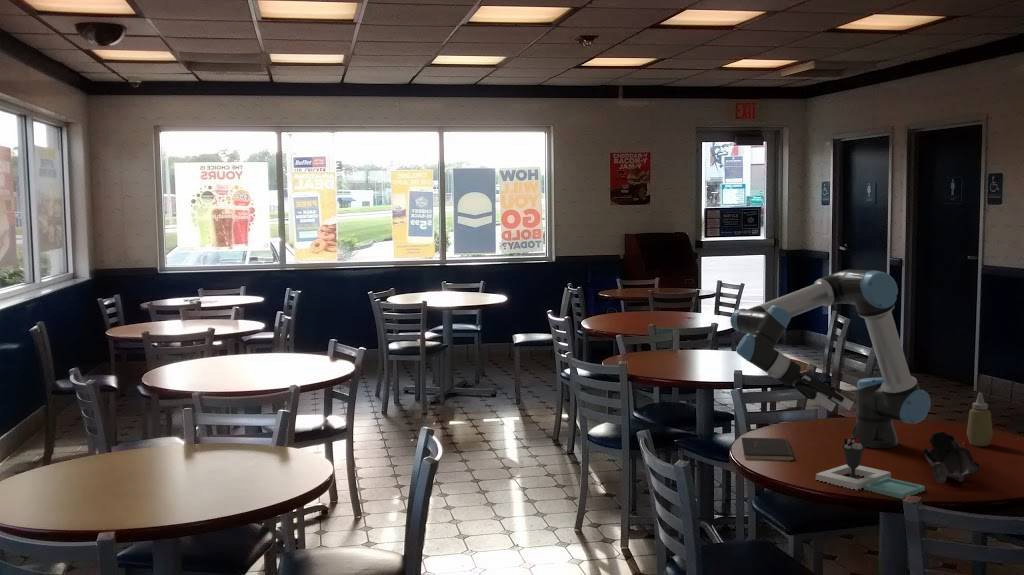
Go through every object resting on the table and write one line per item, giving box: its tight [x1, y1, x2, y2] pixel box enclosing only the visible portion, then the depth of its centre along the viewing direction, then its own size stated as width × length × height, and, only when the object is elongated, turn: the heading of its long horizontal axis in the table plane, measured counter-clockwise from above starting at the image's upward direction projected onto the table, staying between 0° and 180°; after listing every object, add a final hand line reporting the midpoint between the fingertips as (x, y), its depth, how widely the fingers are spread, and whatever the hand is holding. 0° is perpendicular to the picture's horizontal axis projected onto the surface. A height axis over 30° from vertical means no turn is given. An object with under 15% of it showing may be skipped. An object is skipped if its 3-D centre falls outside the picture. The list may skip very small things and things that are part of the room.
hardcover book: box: [741, 437, 795, 461], centre depth 323 cm, size 16×23×2 cm
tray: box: [863, 477, 926, 500], centre depth 276 cm, size 12×12×1 cm
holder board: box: [815, 463, 892, 491], centre depth 287 cm, size 18×14×2 cm
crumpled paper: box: [923, 431, 981, 484], centre depth 286 cm, size 14×15×20 cm
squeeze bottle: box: [966, 392, 994, 447], centre depth 324 cm, size 8×8×18 cm
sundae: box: [841, 432, 866, 479], centre depth 287 cm, size 7×7×15 cm
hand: (842, 407), depth 291 cm, fingers open, 13 cm apart
